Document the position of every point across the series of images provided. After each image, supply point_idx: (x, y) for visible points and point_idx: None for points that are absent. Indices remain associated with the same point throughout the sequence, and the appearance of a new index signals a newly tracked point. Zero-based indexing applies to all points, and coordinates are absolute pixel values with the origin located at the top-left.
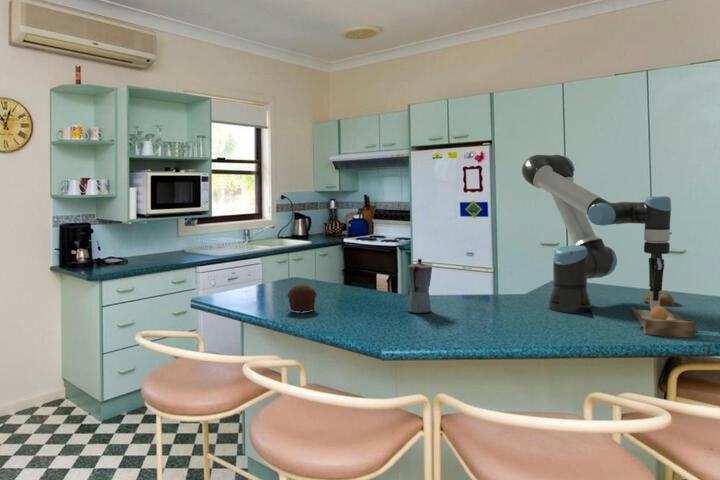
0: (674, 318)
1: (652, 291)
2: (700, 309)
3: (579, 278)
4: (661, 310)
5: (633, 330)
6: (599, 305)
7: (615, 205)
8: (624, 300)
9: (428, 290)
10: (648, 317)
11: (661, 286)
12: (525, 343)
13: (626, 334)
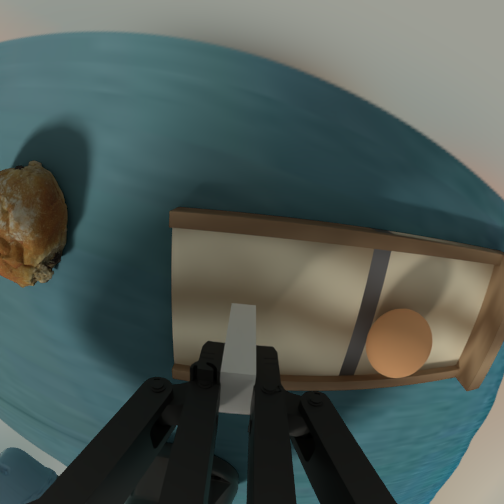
0: (332, 250)
1: (249, 407)
2: (60, 71)
3: None
4: (430, 351)
5: (424, 386)
6: (103, 408)
7: None
8: (5, 312)
9: None
10: (321, 349)
11: (340, 419)
12: (438, 476)
13: (447, 397)
